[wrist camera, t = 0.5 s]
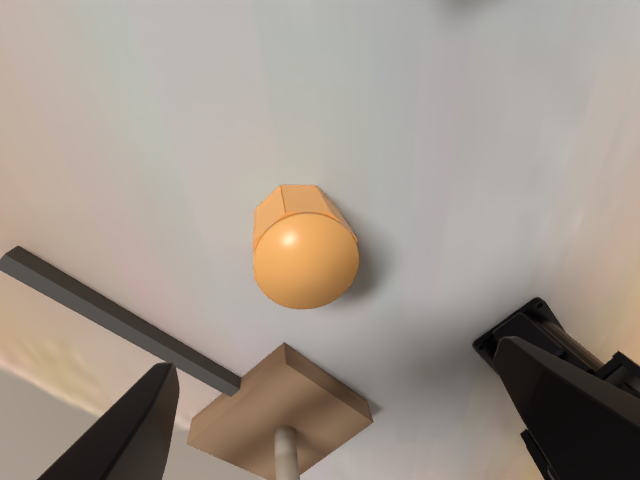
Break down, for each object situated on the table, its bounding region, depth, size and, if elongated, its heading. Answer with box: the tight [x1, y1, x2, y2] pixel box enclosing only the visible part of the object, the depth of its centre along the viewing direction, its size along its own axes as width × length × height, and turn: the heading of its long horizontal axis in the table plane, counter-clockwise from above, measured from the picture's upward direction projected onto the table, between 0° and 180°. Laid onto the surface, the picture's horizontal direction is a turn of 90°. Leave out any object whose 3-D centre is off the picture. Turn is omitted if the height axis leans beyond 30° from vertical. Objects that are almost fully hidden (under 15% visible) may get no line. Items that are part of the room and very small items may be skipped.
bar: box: [0, 246, 241, 397], centre depth 21 cm, size 16×1×1 cm, turn 42°
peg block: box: [187, 343, 373, 480], centre depth 24 cm, size 10×10×6 cm
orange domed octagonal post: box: [253, 185, 359, 309], centre depth 17 cm, size 5×5×5 cm
